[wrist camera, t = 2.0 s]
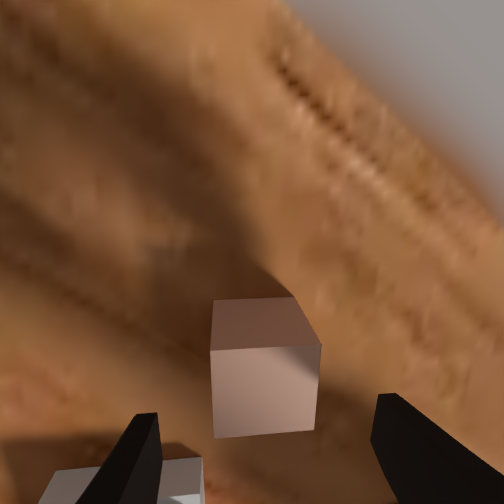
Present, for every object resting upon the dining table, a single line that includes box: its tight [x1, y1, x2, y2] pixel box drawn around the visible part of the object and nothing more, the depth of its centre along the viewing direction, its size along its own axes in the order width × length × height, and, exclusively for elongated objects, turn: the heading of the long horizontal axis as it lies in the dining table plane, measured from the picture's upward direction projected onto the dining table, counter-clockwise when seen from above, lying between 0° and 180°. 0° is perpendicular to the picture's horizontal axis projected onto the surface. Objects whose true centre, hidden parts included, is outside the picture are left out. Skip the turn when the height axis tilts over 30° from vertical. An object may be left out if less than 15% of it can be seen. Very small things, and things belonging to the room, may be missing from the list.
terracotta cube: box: [210, 297, 322, 439], centre depth 12 cm, size 4×4×4 cm
